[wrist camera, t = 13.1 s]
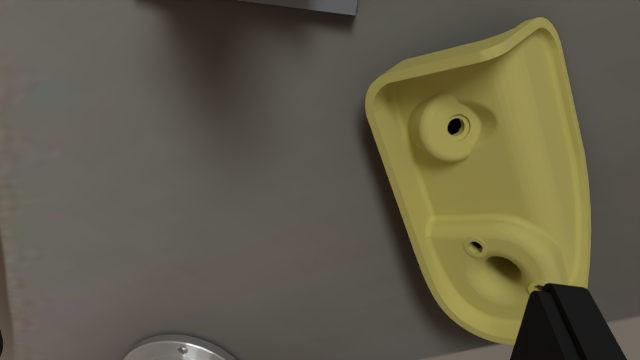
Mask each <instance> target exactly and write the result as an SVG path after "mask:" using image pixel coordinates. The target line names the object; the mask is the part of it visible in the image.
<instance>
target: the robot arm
mask: <svg viewBox="0 0 640 360" xmlns="http://www.w3.org/2000/svg"><path fill="white" fill-rule="evenodd" d="M2 350H3V339H2V335H1V331H0V356H1V353H2ZM123 360H236V359H235V358H234V357H233V356H231V355H230V354H229V353H227V352H226V351H224V350H223V349H222V348H220V347H218V346H216V345H214V344H212V343H210V342H207V341H204V340H202V339H199V338H195V337H190V336H185V335H173V334H168V335H158V336H154V337H150V338H147V339H145V340H143V341H141V342H139V343H137V344H136V345H135V346H133V347H132V348H131V349H130V350H129V351H128V353H127V354H126V356H125V357H124V359H123ZM510 360H627V359H626V357H625V355H624V354H623V352H622V350H621V348H620V346H619V345H618V343H617V341H616V339H615V338H614V336H613V334H612V332H611V330H610V329H609V327H608V325H607V323H606V321H605V319H604V318H603V316H602V314H601V312H600V310H599V309H598V307H597V305H596V303H595V301H594V300H593V298H592V296H591V294H590V292H589V291H588V290H587V289H586V288H584V287H579V286H570V285H562V284H554V283H547V284H545V285H544V287H543V288H542V290H541V291H536V290H534V291H532V292H531V294H530V296H529V299H528V302H527V305H526V309H525V312H524V315H523V319H522V322H521V325H520V329H519V332H518V335H517V338H516V342H515V345H514V348H513V352H512V355H511V359H510Z"/></svg>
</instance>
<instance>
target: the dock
mask: <svg viewBox="0 0 640 360" xmlns="http://www.w3.org/2000/svg"><path fill="white" fill-rule="evenodd" d="M238 1H246V2H254V3H261V4H269V5H277V6H285V7H293V8H300V9H308V10H316V11H324V12H331V13H339V14H347V15H356V12H357V5H358V0H238Z"/></svg>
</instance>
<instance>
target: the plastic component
mask: <svg viewBox="0 0 640 360" xmlns="http://www.w3.org/2000/svg"><path fill="white" fill-rule="evenodd" d="M365 110H366V116H367V119H368V122H369V124H370V127H371V130H372V133H373V136H374V139H375V141H376V144H377V147H378V150H379V153H380V156H381V159H382V161H383V164H384V167H385V170H386V173H387V176H388V179H389V181H390V184H391V187H392V190H393V193H394V196H395V198H396V201H397V204H398V207H399V210H400V213H401V216H402V218H403V221H404V224H405V227H406V230H407V233H408V236H409V238H410V241H411V244H412V247H413V250H414V253H415V255H416V258H417V261H418V263H419V266H420V269H421V271H422V274H423V276H424V279H425V281H426V283H427V285H428V287H429V289H430V291H431V293H432V295H433V297H434V298H435V300H436V301H437V303H438V305H439V306H440V307H441V308H442V310H443V311H444V312H445V313H446V314H447V315H448V316H449V317H450V318H451V319H452V320H453V321H455V322H456V323H457V324H458V325H460V326H461V327H463V328H464V329H466V330H467V331H469V332H471V333H473V334H474V335H477V336H479V337H481V338H483V339H486V340H489V341H492V342H496V343H501V344H506V345H515V342H516V338H517V335H518V332H519V329H520V325H521V322H522V319H523V315H524V312H525V309H526V305H527V302H528V299H529V296H530V294H531V292H532V291H534V290H536V291H541V290H540V289H539V288H538V287H537V285H541V286H544V285H545V284H547V283H554V284H562V285H570V286H579V287H584V288H586V289H587V286H588V276H589V265H590V248H591V206H590V193H589V182H588V173H587V166H586V159H585V153H584V148H583V143H582V138H581V134H580V129H579V125H578V120H577V115H576V111H575V106H574V101H573V97H572V92H571V88H570V83H569V78H568V74H567V69H566V65H565V60H564V55H563V51H562V46H561V42H560V39H559V36H558V34H557V32H556V30H555V28H554V27H553V25H552V24H551V23H550V22H549V21H548V20H547V19H545V18H543V17H539V18H534V19H530V20H527V21H524V22H522V23H521V24H520V25H518V26H517V27H515V28H513V29H511V30H509V31H507V32H505V33H502V34H499V35H497V36H494V37H491V38H488V39H485V40H481V41H477V42H473V43H469V44H465V45H461V46H457V47H453V48H449V49H445V50H441V51H437V52H433V53H429V54H425V55H421V56H417V57H413V58H409V59H406V60H403V61H401V62H399V63H398V64H396V65H395V66H394V67H392V68H391V69H389V70H388V71H387V72H385V73H384V74H382V75H381V76H380V77H378V78H377V79H376V80H375V81H374V82H373V83H372V84H371V86H370V88H369V89H368V91H367V95H366V99H365ZM455 118H458V119H459V120H460V121H461V128H460V130H459V131H458V132H457V133H455V134H453V135H450V134H449V132H448V128H447V126H448V124H449V122H450V121H451V120H452V119H455ZM474 241H475V242H477V243H479V244H480V245H481V246H482V248H477V247H476V246H474V245H473V243H472V242H474Z"/></svg>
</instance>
